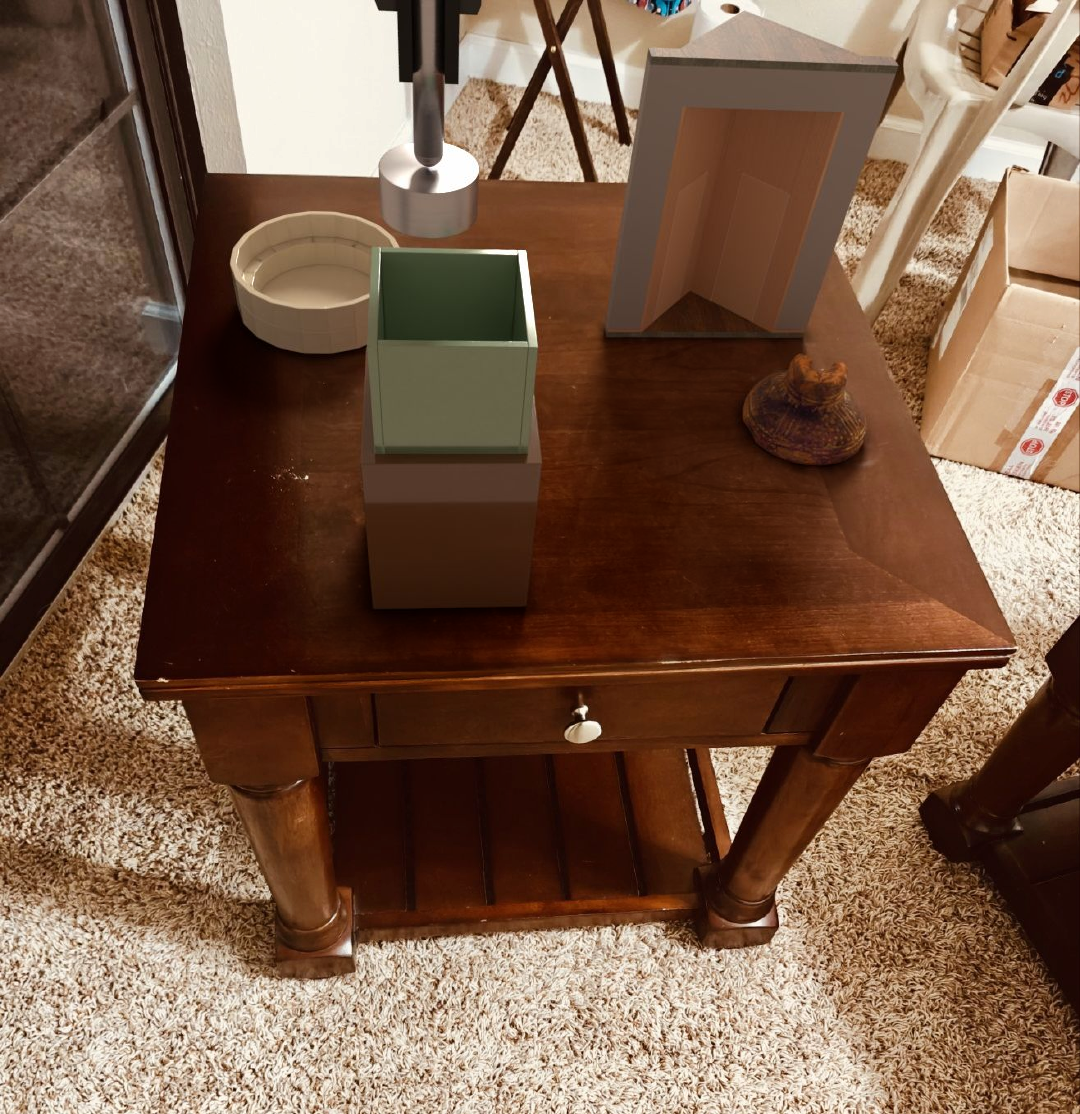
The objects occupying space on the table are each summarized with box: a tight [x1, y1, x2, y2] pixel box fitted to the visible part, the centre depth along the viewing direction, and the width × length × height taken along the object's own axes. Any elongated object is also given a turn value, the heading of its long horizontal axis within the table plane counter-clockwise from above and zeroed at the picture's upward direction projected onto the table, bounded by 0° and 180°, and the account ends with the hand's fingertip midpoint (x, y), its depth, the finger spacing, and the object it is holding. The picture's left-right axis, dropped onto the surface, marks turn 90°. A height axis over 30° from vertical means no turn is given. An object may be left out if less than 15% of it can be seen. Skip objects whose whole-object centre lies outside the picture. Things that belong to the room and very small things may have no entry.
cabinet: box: [603, 10, 899, 339], centre depth 95 cm, size 21×10×28 cm, turn 95°
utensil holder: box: [360, 247, 543, 610], centre depth 72 cm, size 12×12×25 cm
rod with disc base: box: [377, 0, 480, 240], centre depth 54 cm, size 6×6×19 cm
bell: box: [742, 353, 868, 466], centre depth 92 cm, size 12×12×7 cm
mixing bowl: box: [229, 210, 401, 355], centre depth 98 cm, size 16×16×6 cm
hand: (428, 70), depth 55 cm, fingers closed on rod with disc base, 2 cm apart
